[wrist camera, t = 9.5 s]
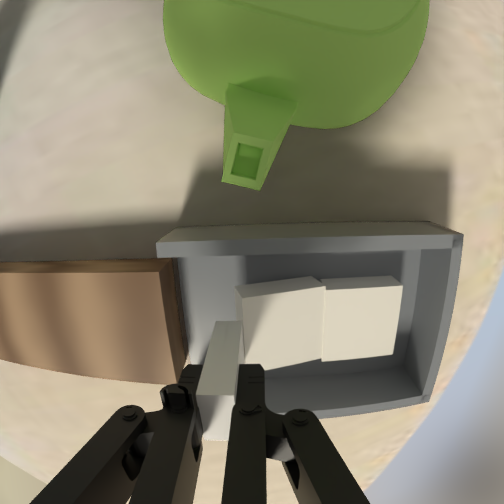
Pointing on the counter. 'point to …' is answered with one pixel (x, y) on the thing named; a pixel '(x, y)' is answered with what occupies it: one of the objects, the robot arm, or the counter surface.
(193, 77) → the teapot
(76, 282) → the walnut board
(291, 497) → the counter surface
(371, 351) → the tile
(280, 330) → the tile
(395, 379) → the tray
